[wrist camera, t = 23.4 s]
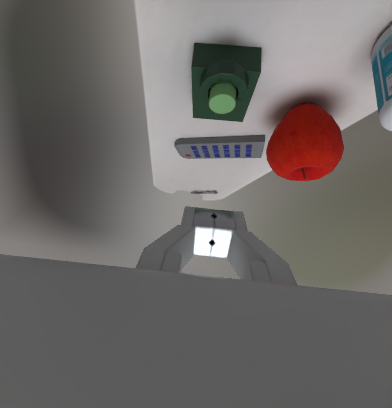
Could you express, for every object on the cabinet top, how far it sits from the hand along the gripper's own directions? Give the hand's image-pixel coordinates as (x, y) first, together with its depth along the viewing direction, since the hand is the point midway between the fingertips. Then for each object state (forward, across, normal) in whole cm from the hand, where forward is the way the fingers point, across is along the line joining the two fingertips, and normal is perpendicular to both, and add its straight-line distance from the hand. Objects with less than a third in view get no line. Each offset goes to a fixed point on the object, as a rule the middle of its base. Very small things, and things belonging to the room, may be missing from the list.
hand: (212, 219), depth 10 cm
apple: (+33, -17, -3) cm, 37 cm away
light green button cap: (+22, -1, -5) cm, 23 cm away
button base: (+28, -1, -7) cm, 29 cm away
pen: (+74, 0, +38) cm, 83 cm away
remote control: (+43, -3, +7) cm, 43 cm away
